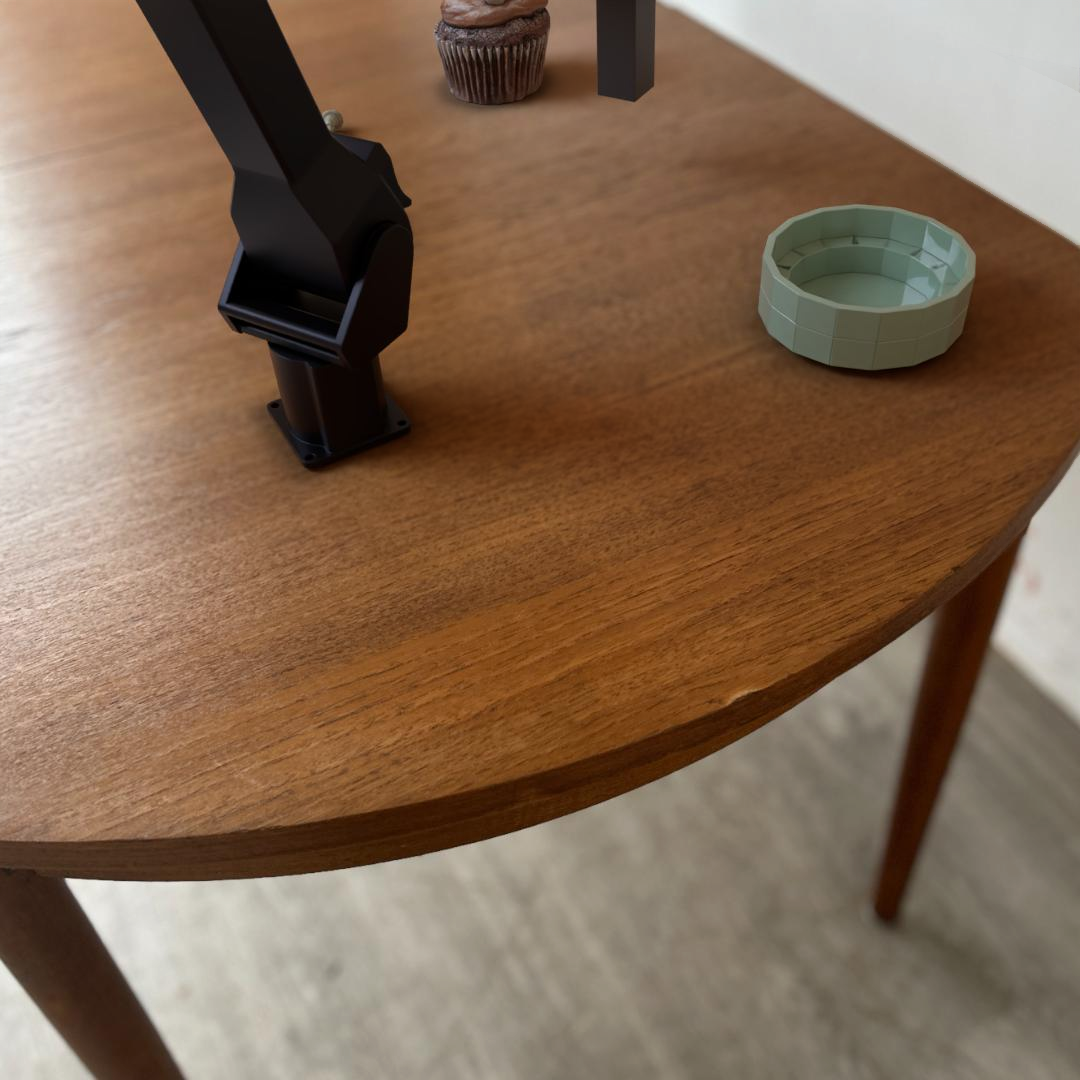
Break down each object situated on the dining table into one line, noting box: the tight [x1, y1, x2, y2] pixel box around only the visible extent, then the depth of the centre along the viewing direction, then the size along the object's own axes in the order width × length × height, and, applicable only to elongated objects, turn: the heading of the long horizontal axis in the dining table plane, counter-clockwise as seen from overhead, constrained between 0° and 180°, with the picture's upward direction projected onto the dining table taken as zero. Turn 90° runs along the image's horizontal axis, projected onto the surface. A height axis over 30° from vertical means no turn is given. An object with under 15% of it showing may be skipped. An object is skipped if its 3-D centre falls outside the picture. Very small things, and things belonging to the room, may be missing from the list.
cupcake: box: [432, 0, 551, 105], centre depth 97 cm, size 10×10×10 cm
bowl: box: [757, 203, 977, 371], centre depth 71 cm, size 12×12×4 cm
